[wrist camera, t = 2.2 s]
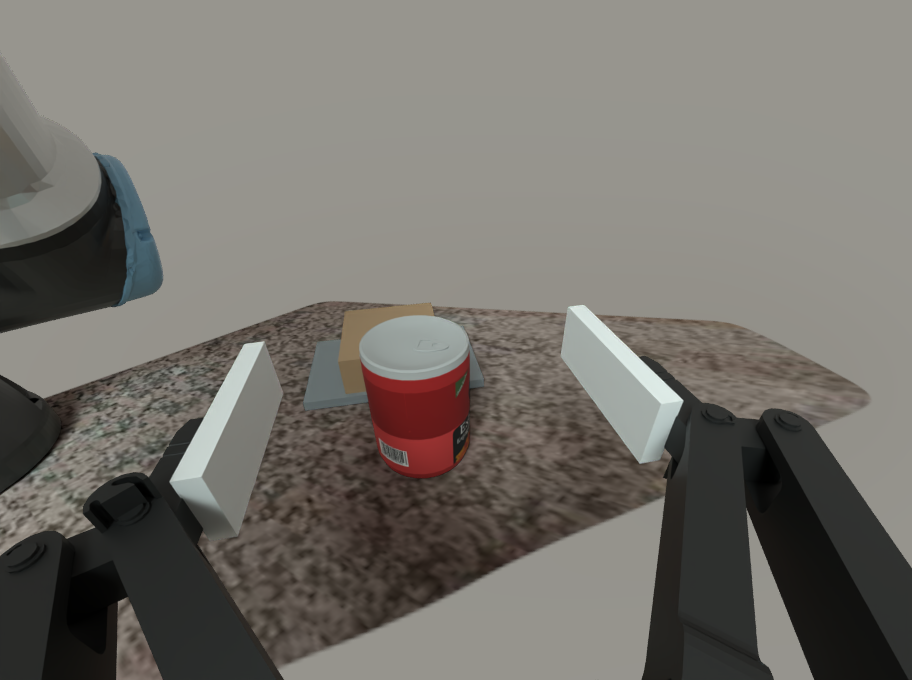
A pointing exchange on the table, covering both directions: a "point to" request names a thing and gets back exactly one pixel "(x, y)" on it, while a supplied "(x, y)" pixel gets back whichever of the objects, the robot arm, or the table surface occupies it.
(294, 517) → the table surface
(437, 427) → the canned food
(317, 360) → the plinth
